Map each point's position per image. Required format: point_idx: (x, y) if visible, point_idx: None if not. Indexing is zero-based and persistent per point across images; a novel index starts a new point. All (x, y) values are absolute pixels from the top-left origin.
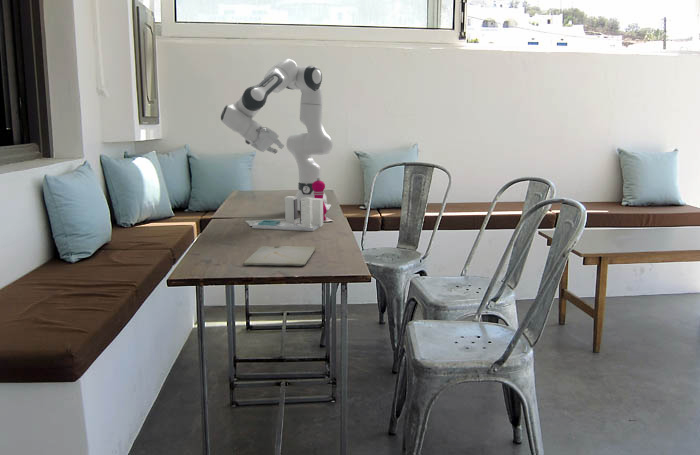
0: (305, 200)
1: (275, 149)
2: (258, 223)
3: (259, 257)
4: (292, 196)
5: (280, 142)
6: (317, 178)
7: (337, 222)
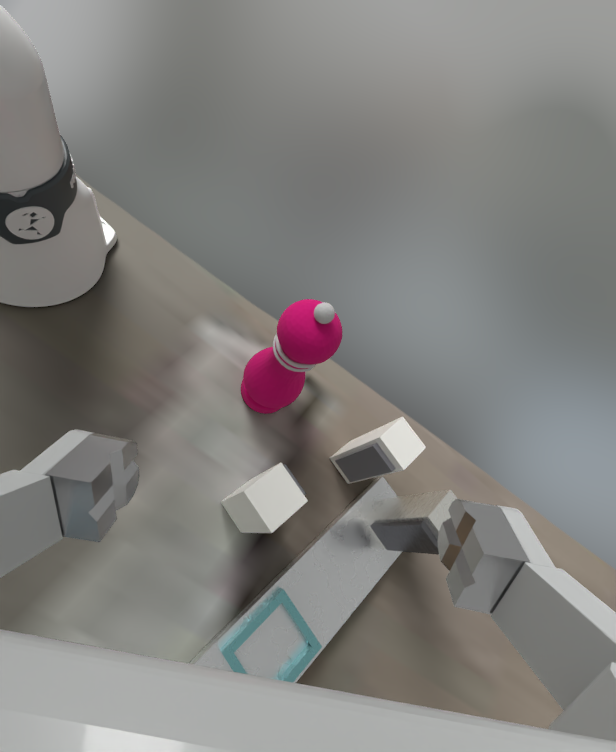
0: None
1: (105, 472)
2: None
3: None
4: (272, 480)
5: (583, 593)
6: (329, 318)
7: (332, 377)
